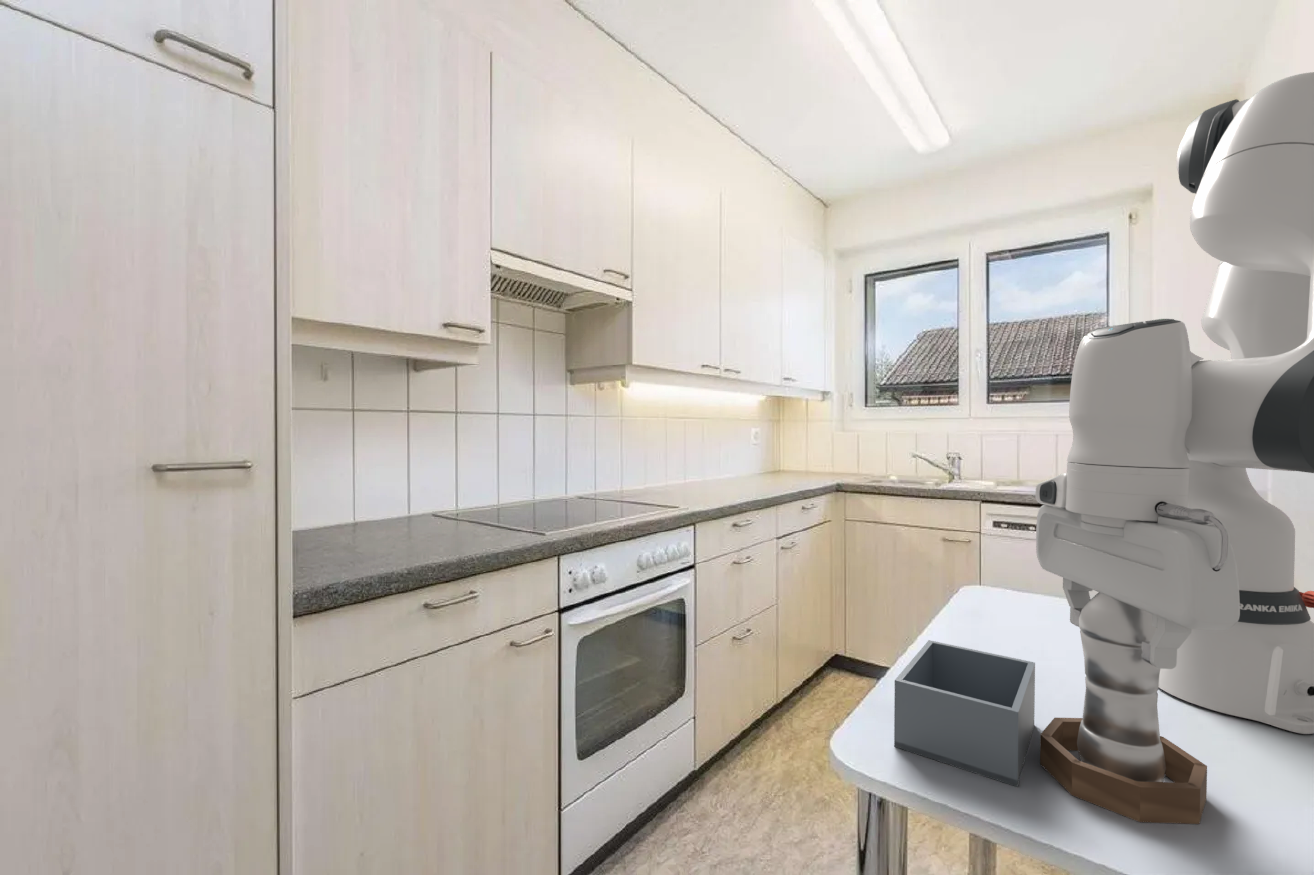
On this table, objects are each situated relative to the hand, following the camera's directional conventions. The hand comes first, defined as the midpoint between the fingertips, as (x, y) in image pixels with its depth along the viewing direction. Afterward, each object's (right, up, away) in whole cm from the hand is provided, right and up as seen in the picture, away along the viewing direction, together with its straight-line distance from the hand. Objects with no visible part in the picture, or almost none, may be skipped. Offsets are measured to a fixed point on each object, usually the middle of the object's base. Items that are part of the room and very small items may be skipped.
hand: (1117, 644), depth 54 cm
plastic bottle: (+1, -13, +1) cm, 13 cm away
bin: (-9, -13, +9) cm, 18 cm away
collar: (+1, -13, +1) cm, 13 cm away
